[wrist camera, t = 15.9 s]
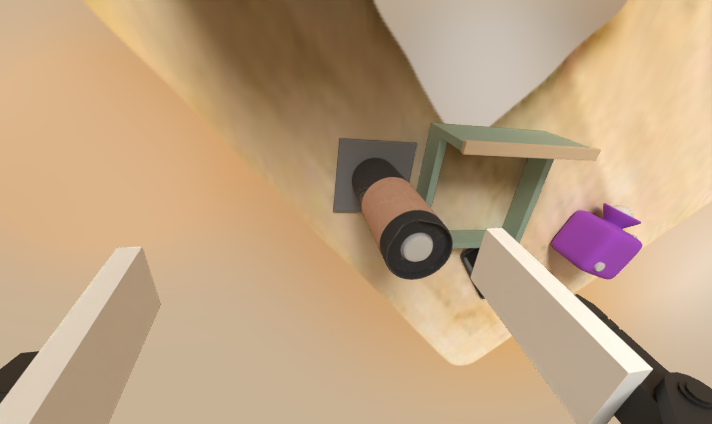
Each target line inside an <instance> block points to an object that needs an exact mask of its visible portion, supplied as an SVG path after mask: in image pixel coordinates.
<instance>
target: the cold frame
mask: <svg viewBox="0 0 712 424" xmlns="http://www.w3.org/2000/svg"><path fill="white" fill-rule="evenodd" d="M447 142H448V143H450V144H451V145H453V146H454V147H456V148H457V149H459V150H460V151H461V153H462V154H467V155H487V156H507V157H526V158H528V160H527V163H526V166H525V168H524V171H523V174H522V176H521V179H520V182H519V184H518V187H517V190H516V192H515V195H514V198H513V200H512V203H511V206H510V208H509V211H508V214H507V216H506V219H505V222H504V224H503V227H502V228H503V229H504V230H505V231H506V232H507V233H508V234H509V235H510V236H511V237H513V238H514V239H515V240H516V241H517V242H518V243H520V240H521V238H522V235H523V233H524V231H525V228H526V226H527V223H528V221H529V218H530V216H531V214H532V211H533V209H534V206H535V204H536V201H537V199H538V197H539V194H540V192H541V189H542V187H543V185H544V182H545V180H546V177H547V175H548V172H549V170H550V168H551V165H552V163H553V160H554V159H566V160H585V161H596V159H597V157H598V155H599V153H600V151H601V150H600V149H597V148H590V147H587V146H584V145H582V144H579V143H576V142H573V141H571V140H568V139H565V138H563V137H560V136H557V135H554V134H552V133H549V132H546V131H537V130H524V129H510V128H497V127H483V126H469V125H455V124H442V123H431V126H430V131H429V136H428V140H427V145H426V149H425V154H424V159H423V163H422V168H421V172H420V177H419V182H418V186H417V192H418V194H419V195H420V196H421V197H422V198H423V200H424V201H425V202H426V203H427V205H428V206H429V207H430V208H431V206H432V202H433V198H434V194H435V190H436V186H437V182H438V178H439V174H440V170H441V166H442V162H443V158H444V154H445V150H446V146H447ZM449 232H450V234H451V236H452V240H453V247H452V248H480V246H481V243H482V240H483V237H484V234H485V230H462V231H449Z"/></svg>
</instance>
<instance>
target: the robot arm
mask: <svg viewBox="0 0 712 424" xmlns="http://www.w3.org/2000/svg"><path fill="white" fill-rule="evenodd" d="M470 279H471V280H472V281H473V283H474V284H475V285H476V287H477V288H478V290H479V291H480V292H481V294H482V295H483V296H484V298H485V299H486V301H487V302H488V303H489V305H490V306H491V307H492V309H493V310H494V311H495V313H496V314H497V316H498V317H499V318H500V320H501V321H502V322H503V324H504V325H505V327H506V328H507V329H508V331H509V332H510V333H511V335H512V336H513V337H514V339H515V340H516V342H517V343H518V344H519V346H520V347H521V348H522V350H523V351H524V353H525V354H526V355H527V356H528V358H529V359H530V361H531V362H532V363H533V365H534V366H535V368H536V369H537V370H538V372H539V373H540V374H541V375H542V377H543V378H544V380H545V381H546V383H547V384H548V385H549V386H550V388H551V389H552V391H553V392H554V394H555V395H556V396H557V398H558V399H559V400H560V402H561V403H562V404H563V406H564V407H565V409H566V410H567V411H568V413H569V414H570V415H571V417H572V418H573V419H574V421H575V422H576V424H607V423H608V422H609V420H610V419H611V418H612V417H613V416H615V417H616V418H617V419H618V420H619V422H620V423H621V424H712V389H711V388H710V387H708V386H707V385H705V384H704V383H702V382H701V381H699V380H697V379H695V378H692V377H691V376H688V375H685V374H681V373H678V372H676V373H670V372H669V371H667V370H666V369H665V368H664V367H663V366H661V365H660V364H659V363H658V362H657V361H656V360H655V359H654V358H653V357H651V356H650V355H649V354H648V353H647V352H646V351H645V350H643V348H641V347H640V346H639V345H638V344H637V343H636V342H635V341H634V340H632V338H631V337H629V336H628V335H627V334H626V333H625V332H624V331H623V330H620V329H619V327H618V326H617V325H616V324H615V323H614V322H613V321H612V320H611V319H608V317H607V316H606V315H605V314H604V313H603V312H602V311H601V310H600V309H598V308H597V307H596V306H595V305H594V304H592V303H591V302H589V301H587V300H586V299H584V298H583V297H581V296H579V295H578V294H576V295H573V294H572V293H571V292H570V291H569V290H568V289H567V288H566V287H565V286H564V285H563V284H562V283H561V282H560V281H558V280H557V279H556V278H555V277H554V276H553V275H552V274H551V273H550V272H549V271H548V270H547V269H546V268H545V267H544V266H542V265H541V264H540V263H539V262H538V261H537V260H536V259H535V258H534V257H533V256H532V255H531V254H530V253H529V252H528V251H526V250H525V249H524V248H523V247H522V246H521V245H520V244H519V243H518V242H517V241H516V240H515V239H514V238H513V237H511V236H510V235H509V234H508V233H507V232H506V231H505V230H504V229H503V228H488V229H486V230H485V234H484V237H483V240H482V243H481V246H480V249H479V252H478V255H477V259H476V262H475V265H474V268H473V271H472V274H471V277H470ZM160 305H161V303H160V300H159V297H158V294H157V291H156V288H155V285H154V282H153V279H152V276H151V273H150V269H149V266H148V263H147V260H146V257H145V254H144V251H143V248H142V246H141V247H121V248H116V250H115V251H114V252H113V254H112V255H111V257H110V258H109V259H108V260H107V262H106V263H105V264H104V266H103V267H102V268H101V270H100V271H99V273H98V274H97V275H96V277H95V278H94V279H93V280H92V282H91V283H90V284H89V286H88V287H87V288H86V290H85V291H84V293H83V294H82V295H81V297H80V298H79V299H78V300H77V302H76V303H75V304H74V306H73V307H72V309H71V310H70V311H69V313H68V314H67V316H66V317H65V318H64V319H63V321H62V322H61V323H60V325H59V326H58V327H57V329H56V330H55V331H54V333H53V334H52V335H51V337H50V338H49V340H48V341H47V342H46V343H45V345H44V346H43V347H42V349H41V350H40V351H37V352H27V353H20V354H19V355H18V356H17V357H15V358H14V359H13V360H11V361H10V362H9V363H8V364H6V365H5V366H4V367H3V368H1V369H0V424H109V422H110V419H111V417H112V415H113V412H114V410H115V408H116V405H117V403H118V401H119V399H120V397H121V394H122V392H123V390H124V387H125V385H126V383H127V381H128V378H129V376H130V374H131V371H132V369H133V367H134V365H135V362H136V360H137V358H138V356H139V353H140V351H141V349H142V346H143V344H144V342H145V340H146V337H147V335H148V333H149V331H150V328H151V326H152V324H153V321H154V319H155V317H156V315H157V312H158V310H159V308H160Z"/></svg>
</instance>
